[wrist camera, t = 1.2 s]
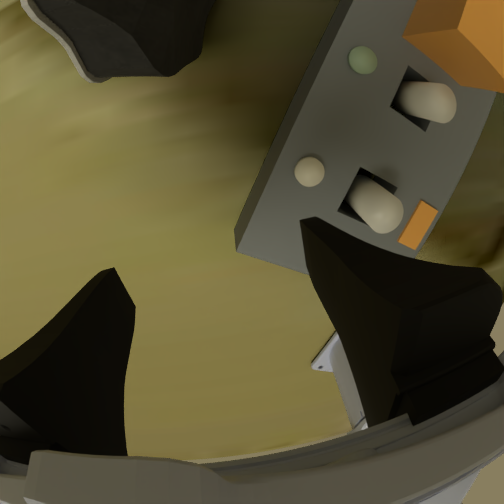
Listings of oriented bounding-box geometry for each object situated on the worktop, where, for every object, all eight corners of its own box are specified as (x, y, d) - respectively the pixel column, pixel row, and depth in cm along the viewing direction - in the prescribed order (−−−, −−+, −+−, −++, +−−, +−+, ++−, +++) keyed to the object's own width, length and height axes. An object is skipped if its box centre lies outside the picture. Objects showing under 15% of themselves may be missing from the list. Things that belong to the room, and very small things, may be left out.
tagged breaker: (380, 183, 18) (410, 205, 15) (364, 212, 19) (390, 238, 16) (353, 169, 18) (381, 188, 14) (337, 199, 19) (361, 225, 15)
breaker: (423, 92, 15) (461, 98, 12) (411, 120, 16) (447, 130, 13) (399, 74, 15) (435, 75, 11) (385, 102, 16) (420, 109, 12)
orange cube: (480, 30, 12) (533, 31, 7) (460, 85, 14) (517, 96, 9) (425, -20, 10) (476, -35, 6) (401, 36, 12) (457, 29, 8)
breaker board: (483, 51, 15) (512, 52, 12) (371, 277, 24) (389, 302, 21) (363, -45, 11) (385, -61, 9) (234, 229, 21) (236, 254, 18)
